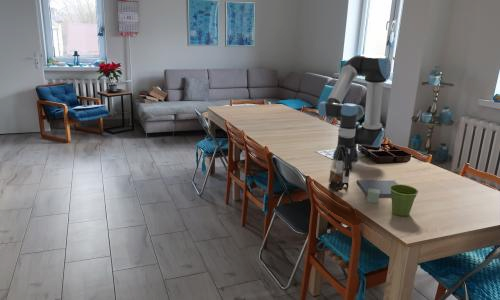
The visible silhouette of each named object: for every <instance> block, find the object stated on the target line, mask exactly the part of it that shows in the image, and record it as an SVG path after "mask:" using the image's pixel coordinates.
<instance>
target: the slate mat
mask: <svg viewBox="0 0 500 300" xmlns="http://www.w3.org/2000/svg"><path fill="white" fill-rule="evenodd" d="M356 183H357V185H358V186H359V187H360V189H361V190H362V191H363V193H364V194H365V195H366V197H368V190H369V188H370V189H377V190H380V194H379V197H382V198H383V197H384V198H385V197H387V198H388V197H389V198H390V197H391V190H390V186H392V185H396V184H398V182H396V181H395V180H381V179H379V180H377V179H375V180H374V179H373V180H372V179H356ZM391 198H392V197H391Z"/></svg>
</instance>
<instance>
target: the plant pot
mask: <svg viewBox="0 0 500 300" xmlns="http://www.w3.org/2000/svg"><path fill="white" fill-rule="evenodd" d="M390 190H391V211H392V213H393V214H394V215H395V216H396V215H397V216H399V217H407V216H409V215H410V213H411V211H412V207H413V204H414V202H415V199H416V197H417V195H418V194H419V191H420V190H418V189H417V188H415V187H413V186H410V185H407V184H400V183H399V184H398V183H397V184H396V185H392V186H390Z"/></svg>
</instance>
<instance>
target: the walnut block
mask: <svg viewBox="0 0 500 300" xmlns="http://www.w3.org/2000/svg"><path fill="white" fill-rule="evenodd" d="M343 173H344V170H342V171H341V173H336V168H334V169H333V168H332V169H331V168H330V171H329V179H330V180H331V179H332V178H333V177H334V176H335V175H336V174H338V175H340V176H342V177H343Z"/></svg>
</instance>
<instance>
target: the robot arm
mask: <svg viewBox="0 0 500 300" xmlns="http://www.w3.org/2000/svg"><path fill="white" fill-rule="evenodd" d="M391 70H392V63H391V60H390V58H389V57H388V56H385V55H377V54H375V55H374V54H371V55H370V54H359V55H358V54H357V55H354V56H352V57H350V59H348V60H346V62H344V64H343V65H342V67H341V69H340V71H339V72H340V75H339V76H338V78H337V80H336V82H335V84H334V86H333V88H332V90H331V91H330V94H329V95H328V97H327V99H326V101H321V102H319V105H318V108H317V113H318V115H319V116H320V117H323V118H324V117H325V118H330V119H339V120H340V121H339V127H338V129H337V130H338V136H337V143H336V144H337V146H336V148H335V150H334V152H333V155H332V156H333V159H334V160H335V161H336V165H335V167H336V168H335V169H336V173H341V171H343V183H348V184H349V182H350V175H351V171H352V170H353V169H352V168H353V167H352V166H353V164H352V163H356V162H358V161H359V153H358V148H357V146H358V145H360V146H365V147H371V148H379V147H380V146H381V144H382V142H383V140H384V137H385V133H386V128H383V124H382V123H381V113H382V103H383V102H382V101H383V91H384V89H383V88H384V83H386V82H387V81H388V80H387V79H389V78H390V76H391ZM359 76H360V77H364V81H365V82H366V95H365V96H366V97H365V109H364V108H363V106H362V105H359V104H355V103H343V101H344V99H345V97H346V95H347V93H348V91H349V89H350V87H351V86H352V83H353V81H354V80H355V79H357V78H358V77H359ZM363 116H364V121H363V122H362V123H361V125H360V120H362V118H363ZM343 163H344V164H343ZM343 165H344V168H343ZM342 169H343V170H342Z"/></svg>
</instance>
